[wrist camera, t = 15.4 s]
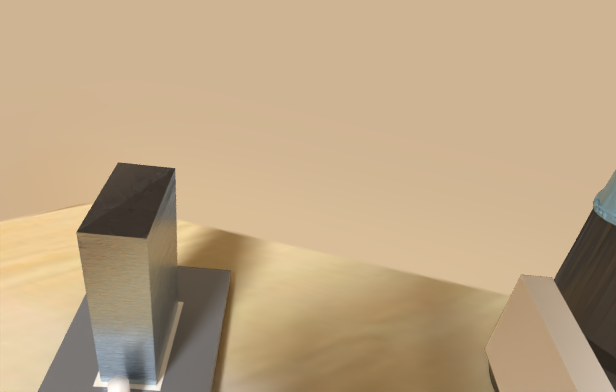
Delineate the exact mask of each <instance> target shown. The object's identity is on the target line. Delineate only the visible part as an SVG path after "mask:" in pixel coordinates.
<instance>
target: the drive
mask: <svg viewBox="0 0 616 392" xmlns="http://www.w3.org/2000/svg"><path fill="white" fill-rule="evenodd" d="M76 233H77V239H78V245H79V251H80V257H81V263H82V270H83V276H84V282H85V288H86V294H87V300H88V306H89V312H90V318H91V324H92V330H93V336H94V342H95V349H96V355H97V361H98V367H99V373H100V379H101V382H109V381H110V380H111V379H112V378H113V377H116V376H125V377H127V378H128V380H129V384H142V385H157V381H158V378H159V374H160V370H161V367H162V363H163V359H164V356H165V352H166V349H167V345H168V341H169V338H170V334H171V330H172V327H173V323H174V319H175V316H176V312H177V308H178V268H177V224H176V180H175V168H167V167H157V166H146V165H137V164H128V163H118V164H117V165H116V167H115V169H114V170H113V172H112V174H111V175H110V177H109V179H108V180H107V182H106V184H105V185H104V187H103V189H102V190H101V192H100V194H99V196H98V197H97V199H96V200H95V202H94V204H93V205H92V207H91V209H90V210H89V212H88V214H87V215H86V217H85V219H84V220H83V222H82V224H81V226H80V227H79V229H78V231H77V232H76Z"/></svg>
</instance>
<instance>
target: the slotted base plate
mask: <svg viewBox="0 0 616 392" xmlns="http://www.w3.org/2000/svg"><path fill="white" fill-rule="evenodd" d="M177 268H178V308H177V312H176V316H175V319H174V323H173V327H172V330H171V334H170V338H169V341H168V345H167V349H166V352H165V356H164V359H163V363H162V367H161V370H160V374H159V378H158V381H157V385H142V384H129V380H128V378H127V377H125V376H116V377H113V378H112V379H111V380H110V381H109V382H101V379H100V373H99V367H98V361H97V355H96V349H95V342H94V336H93V330H92V324H91V318H90V312H89V306H88V300H87V294H86V295H85V297H84V299H83V301H82V303H81V305H80V307H79V309H78V311H77V313H76V315H75V317H74V319H73V321H72V323H71V325H70V327H69V329H68V331H67V333H66V335H65V337H64V340H63V342H62V344H61V346H60V348H59V350H58V352H57V354H56V356H55V358H54V360H53V362H52V364H51V366H50V368H49V370H48V372H47V374H46V376H45V378H44V380H43V382H42V384H41V386H40V388H39V390H38V392H212V387H213V381H214V375H215V369H216V363H217V357H218V351H219V345H220V339H221V333H222V327H223V321H224V315H225V309H226V303H227V297H228V291H229V285H230V274H231V271H229V270H217V269H206V268H195V267H183V266H177Z"/></svg>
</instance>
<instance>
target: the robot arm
mask: <svg viewBox="0 0 616 392" xmlns="http://www.w3.org/2000/svg"><path fill="white" fill-rule="evenodd" d="M485 351H486V354H487V357H488V360H489V369H490V376H491V380H492V383H493V387H494V389H495V392H616V170H615V172H614V173H613V175H612V177H611V178H610V180H609V181H608V183H607V184H606V186H605V188H604V189H603V190H601V191H600V192H599V193H598V194H597V195H596V197H595V199H594V201H593V210H592V211H591V213H590V215H589V217H588V219H587V221H586V223H585V224H584V226H583V228H582V230H581V232H580V234H579V235H578V237H577V239H576V241H575V243H574V245H573V246H572V248H571V250H570V252H569V253H568V255H567V257H566V259H565V261H564V262H563V264H562V266H561V268H560V269H559V271H558V273H557V275H556V277H555V279H554V280H553V279H552V277H541V276H531V275H530V276H529V275H521V276H520V278H519V280H518V282H517V284H516V286H515V288H514V290H513V292H512V294H511V296H510V298H509V300H508V302H507V304H506V306H505V308H504V310H503V313H502V315H501V317H500V319H499V321H498V323H497V325H496V327H495V329H494V331H493V333H492V335H491V337H490V339H489V341H488V343H487V345H486V347H485Z"/></svg>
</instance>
